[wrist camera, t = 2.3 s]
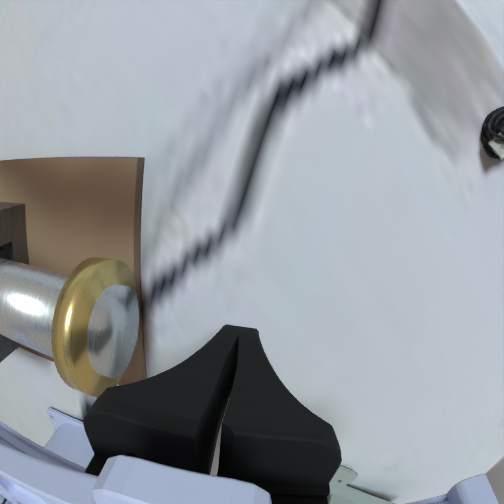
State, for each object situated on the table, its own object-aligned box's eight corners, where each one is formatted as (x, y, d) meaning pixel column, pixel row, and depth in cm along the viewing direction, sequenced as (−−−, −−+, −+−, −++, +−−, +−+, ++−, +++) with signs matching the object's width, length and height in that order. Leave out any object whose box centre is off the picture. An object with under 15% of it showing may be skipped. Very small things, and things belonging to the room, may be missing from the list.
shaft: (149, 351, 15) (101, 427, 10) (-23, 294, 16) (-74, 325, 10) (146, 245, 14) (72, 296, 8) (-34, 219, 14) (-93, 239, 9)
